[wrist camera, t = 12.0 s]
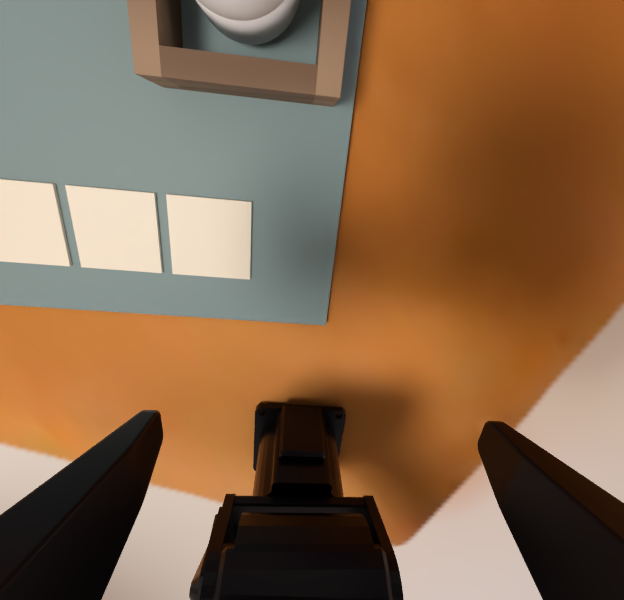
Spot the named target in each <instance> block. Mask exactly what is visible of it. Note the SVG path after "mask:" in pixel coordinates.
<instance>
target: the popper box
mask: <svg viewBox="0 0 624 600" xmlns="http://www.w3.org/2000/svg"><path fill="white" fill-rule="evenodd" d="M350 5H351V0H321V5H320V17H319V30H318V42H317V54H316V65H314V64H306V63H298V62H290V61H282V60H274V59H266V58H258V57H250V56H241V55H233V54H225V53H217V52H209V51H201V50H193V49H185V48H183V37H182V18H181V0H127V6H128V15H129V25H130V35H131V44H132V54H133V64H134V73H135V74H136V75H138V76H140V77H142V78H145V79H147V80H149V81H151V82H153V83H155V84H157V85H159V86H161V87H163V88H172V89H181V90H189V91H198V92H207V93H216V94H224V95H233V96H242V97H250V98H259V99H268V100H277V101H285V102H294V103H303V104H311V105H320V106H329V107H333V106H334V105H335V104H336V102H337V101H338V100H339V99H340V94H341V85H342V76H343V67H344V58H345V49H346V41H347V32H348V23H349V14H350Z"/></svg>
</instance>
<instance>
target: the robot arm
mask: <svg viewBox="0 0 624 600" xmlns="http://www.w3.org/2000/svg"><path fill="white" fill-rule="evenodd" d="M261 410H263V411H265V412H261ZM337 414H340V415H337ZM345 418H346V414H345V410H344V409H343V408H341V407H325V406H303V405H281V404H259V405H258V406H257V407H256V411H255V433H254V464H253V468H254V470H255V471H256V474H255V482H254V489H253V496H236V494H226V496H225V499H224V503H223V506H222V507H220V508H219V512H218V514H216V515H215V519H214V523H213V528H212V532H211V536H210V540H209V544H208V547H207V549H206V552H205V554H204V556H203V558H202V561H201V563H200V565H199V567H198V569H197V571H196V574H195V576H194V578H193V580H192V583H191V587H190V595H189V597H190V599H191V600H403V592H402V584H401V578H400V572H399V568H398V564H397V560H396V557H395V554H394V551H393V548H392V545H391V543H390V540H389V537H388V535H387V532H386V529H385V527H384V524H383V521H382V519H381V516H380V513H379V511H378V508H377V506H376V503H375V500H374V498H373V496H363V497H343V489H342V482H341V474H340V467H339V460H338V458H339V452H340V446H341V441H342V435H343V429H344V424H345ZM162 440H163V429H162V422H161V415H160V412H159V411H157V410H143V411H141V412H139V413H138V414H137V415H135V416H134V417H132V418H131V419H130V420H128V421H127V422H126V423H124V424H123V425H122V426H120V427H119V428H118V429H116V430H115V431H114V432H112V433H111V434H109V435H108V436H107V437H105V438H104V439H103V440H101V441H100V442H99V443H97V444H96V445H95V446H93V447H92V448H91V449H89V450H88V451H86V452H85V453H84V454H82V455H81V456H80V457H78V458H77V459H76V460H74V461H73V462H72V463H70V464H69V465H68V466H66V467H65V468H63V469H62V470H61V471H59V472H58V473H57V474H55V475H54V476H53V477H51V478H50V479H49V480H47V481H46V482H45V483H43V484H42V485H40V486H39V487H38V488H36V489H35V490H34V491H33V492H31V493H30V494H28V495H27V496H26V497H24V498H23V499H22V500H20V501H19V502H17V503H16V504H15V505H14V506H12V507H11V508H10V509H8V510H7V511H5V512H4V513H3V514H1V515H0V600H101V599H102V597H103V594H104V592H105V589H106V587H107V585H108V583H109V581H110V578H111V576H112V574H113V571H114V569H115V566H116V564H117V562H118V560H119V557H120V555H121V552H122V550H123V548H124V546H125V543H126V541H127V539H128V536H129V534H130V532H131V529H132V527H133V525H134V522H135V520H136V518H137V515H138V513H139V511H140V508H141V506H142V503H143V501H144V498H145V494H146V492H147V489H148V486H149V482H150V479H151V476H152V473H153V470H154V467H155V463H156V460H157V457H158V454H159V451H160V447H161V444H162ZM478 451H479V454H480V456H481V459H482V462H483V465H484V467H485V470H486V473H487V475H488V478H489V481H490V484H491V486H492V489H493V492H494V495H495V497H496V500H497V502H498V505H499V507H500V509H501V512H502V514H503V516H504V518H505V520H506V523H507V524H508V527H509V529H510V531H511V533H512V535H513V537H514V540H515V542H516V544H517V546H518V548H519V550H520V552H521V554H522V556H523V558H524V561H525V563H526V565H527V567H528V569H529V571H530V573H531V575H532V577H533V580H534V582H535V584H536V586H537V588H538V590H539V592H540V595H541V597H542V599H543V600H624V503H622V502H621V501H620V500H618V499H617V498H615V497H614V496H612V495H611V494H609V493H608V492H606V491H605V490H603V489H602V488H600V487H599V486H597V485H596V484H594V483H593V482H591V481H590V480H588V479H587V478H586V477H584V476H583V475H581V474H579V473H578V472H577V471H575V470H574V469H572V468H571V467H569V466H567V465H566V464H565V463H563V462H562V461H560V460H559V459H557V458H556V457H554V456H553V455H551V454H550V453H548V452H547V451H545V450H544V449H542V448H541V447H539V446H538V445H537V444H535V443H534V442H532V441H531V440H529V439H527V438H526V437H525V436H523V435H522V434H520V433H519V432H517V431H516V430H514V429H513V428H511V427H510V426H508V425H507V424H505V423H504V422H501V421H487V422H486V423H485V425H484V427H483V430H482V433H481V435H480V438H479V440H478Z"/></svg>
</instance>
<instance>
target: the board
mask: <svg viewBox="0 0 624 600" xmlns="http://www.w3.org/2000/svg"><path fill="white" fill-rule="evenodd" d="M366 3H367V0H351V5H350V14H349V23H348V32H347V41H346V49H345V58H344V67H343V76H342V85H341V94H340V99H339V100H338V101H337V102H336V104H335V105H334V106H333V107H329V106H320V105H311V104H303V103H294V102H285V101H277V100H268V99H259V98H250V97H242V96H233V95H224V94H216V93H207V92H198V91H189V90H181V89H172V88H163V87H161V86H159V85H157V84H155V83H153V82H151V81H149V80H147V79H145V78H142V77H140V76H138V75H136V74H135V73H134V64H133V54H132V44H131V35H130V25H129V15H128V6H127V0H0V305H16V306H31V307H47V308H62V309H78V310H94V311H109V312H125V313H141V314H156V315H172V316H187V317H203V318H219V319H234V320H250V321H266V322H281V323H297V324H312V325H326V320H327V312H328V304H329V296H330V288H331V280H332V272H333V264H334V256H335V248H336V241H337V233H338V225H339V217H340V209H341V201H342V193H343V185H344V177H345V169H346V161H347V154H348V146H349V138H350V130H351V122H352V114H353V106H354V98H355V90H356V82H357V74H358V67H359V59H360V51H361V43H362V35H363V27H364V19H365V11H366ZM320 5H321V0H301V1H300V4H299V7H298V10H297V12H296V14H295V16H294V18H293V20H292V22H291V23H290V25H289V26H288V27H287V28H286V29H285V31H283V32H282V33H281V34H280V35H279V36H278V37H276V38H275V39H273V40H271V41H269V42H266V43H262V44H256V45H249V44H243V43H239V42H236V41H233V40H232V39H230V38H228V37H226V36H225V35H223V34H222V33H221V32H220V31H219V30H217V29H216V28H215V27H214V25H213V24H212V23H211V22H210V21H209V19H208V18H207V16H206V15H205V13H204V12H203V10H202V9H201V7H200V6H199V5H198V3H197V2H196V0H181V18H182V37H183V48H185V49H193V50H201V51H209V52H217V53H225V54H233V55H241V56H250V57H258V58H266V59H274V60H282V61H290V62H298V63H306V64H314V65H316V54H317V42H318V30H319V17H320Z"/></svg>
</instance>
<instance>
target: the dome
mask: <svg viewBox="0 0 624 600" xmlns="http://www.w3.org/2000/svg"><path fill="white" fill-rule="evenodd" d="M300 1H301V0H196V2H197V3H198V5H199V6H200V7H201V9H202V10H203V12H204V13H205V15H206V16H207V18H208V19H209V21H210V22H211V23H212V24H213V25H214V27H215V28H216V29H217V30H219V31H220V32H221V33H222V34H223V35H225V36H226V37H228V38H230V39H232V40H233V41H236V42H239V43H243V44H249V45H256V44H262V43H266V42H269V41H271V40H273V39H275V38H276V37H278V36H279V35H280V34H281V33H282V32H283V31H285V29H286V28H287V27H288V26H289V25H290V23H291V22H292V20H293V18H294V16H295V14H296V12H297V10H298V7H299V4H300Z"/></svg>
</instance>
